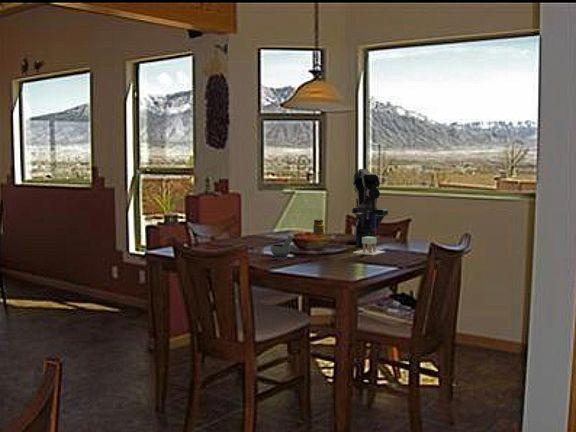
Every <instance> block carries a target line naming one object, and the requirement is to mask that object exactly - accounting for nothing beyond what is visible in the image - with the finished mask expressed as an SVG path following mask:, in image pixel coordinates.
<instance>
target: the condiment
mask: <svg viewBox="0 0 576 432" xmlns="http://www.w3.org/2000/svg"><path fill="white" fill-rule="evenodd" d="M312 227H313V228H312V229H313V230H312V231H313V233H314V234H325V230H324V229H325V225H324V219H314V220H313V226H312Z"/></svg>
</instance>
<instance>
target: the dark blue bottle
mask: <svg viewBox="0 0 576 432" xmlns="http://www.w3.org/2000/svg"><path fill="white" fill-rule="evenodd" d="M376 200H377V202H376V205H375V207H376V208H377V209H378V207H377V203H378V198H377V199H376ZM355 203H356V205H355V208H356V207H358V197H357V198H356V199H355ZM371 212H372V211H371ZM375 216H376V213H367V218H368V219H369V220H370V225H371V227H372V234H371V236H370V237H377V229H376V217H375ZM357 221H358V217H357V216H356V215H355V224H356V223H357ZM357 234H358V233H357Z"/></svg>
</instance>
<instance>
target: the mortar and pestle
mask: <svg viewBox="0 0 576 432" xmlns="http://www.w3.org/2000/svg"><path fill="white" fill-rule="evenodd" d="M293 239H294V236H293V235H290V234H288V236H287V238H286V240H285V241H284V243H277V244H271V245H270V252H271V254H272V255H273V256H274V260H275V259H278V260H277V261H286V260H285V259H287V260H288V256H289V254H290V253H291V247H292V245H291V243H292V241H293Z"/></svg>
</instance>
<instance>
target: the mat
mask: <svg viewBox="0 0 576 432" xmlns="http://www.w3.org/2000/svg"><path fill="white" fill-rule="evenodd" d="M353 253H354V254H359V255H360V254H361V255H367V256H376V255H379V254H385V253H386V250H378V249H376V252H373V249H372V252H371V253H369V251H367V248H366V252H363V249H361V250H356V251H353Z"/></svg>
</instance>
